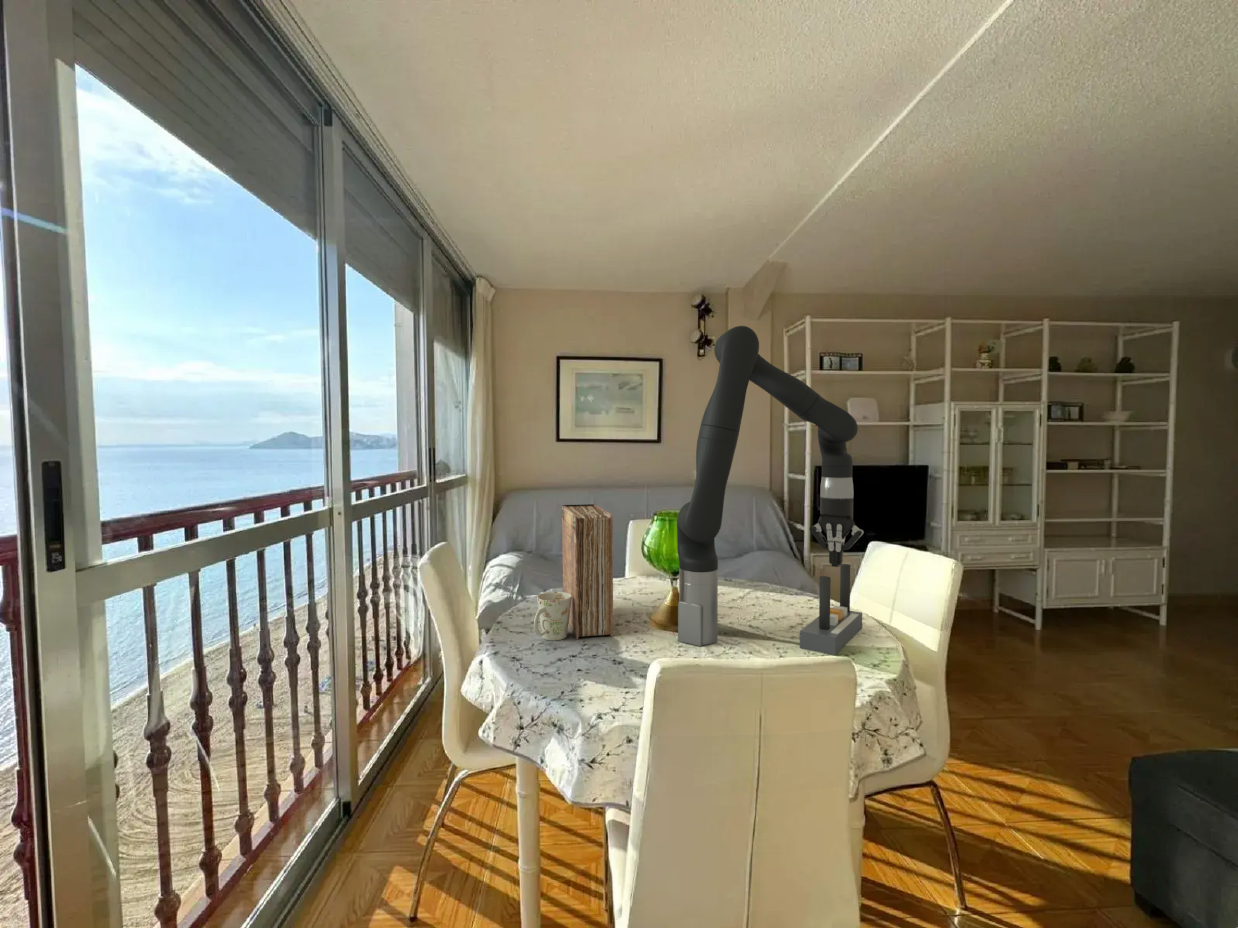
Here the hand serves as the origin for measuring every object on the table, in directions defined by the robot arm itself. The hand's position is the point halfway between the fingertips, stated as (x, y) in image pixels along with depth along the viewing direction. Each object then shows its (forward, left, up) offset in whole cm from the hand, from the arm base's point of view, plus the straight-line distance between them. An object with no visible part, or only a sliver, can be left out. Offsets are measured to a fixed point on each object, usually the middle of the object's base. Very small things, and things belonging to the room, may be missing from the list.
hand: (835, 566), depth 145 cm
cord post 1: (-9, 0, -13) cm, 16 cm away
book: (-28, +56, -17) cm, 65 cm away
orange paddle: (0, 0, -13) cm, 13 cm away
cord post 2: (+8, 0, -13) cm, 16 cm away
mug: (-43, +55, -17) cm, 72 cm away
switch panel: (-2, 0, -17) cm, 17 cm away
